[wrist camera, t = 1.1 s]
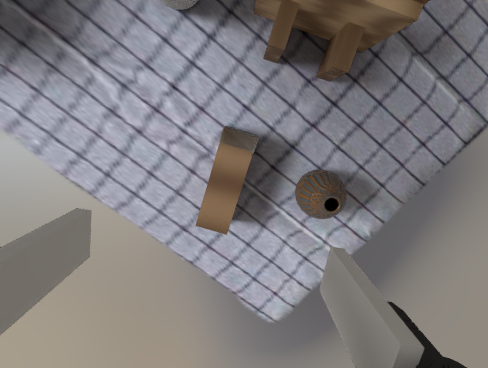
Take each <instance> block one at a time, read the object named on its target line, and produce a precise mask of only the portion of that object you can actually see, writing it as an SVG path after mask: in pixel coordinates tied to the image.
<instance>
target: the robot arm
mask: <svg viewBox="0 0 488 368" xmlns="http://www.w3.org/2000/svg"><path fill="white" fill-rule="evenodd" d="M90 235H91V210H85V209H79V208H76V209H75V210H73V211H70V212H69V213H67V214H65V215H63V216H61V217H59V218H57V219H55V220H53V221H51V222H49V223H47V224H45V225H43V226H41V227H39V228H38V229H35V230H34V231H32V232H30V233H28V234H26V235H24V236H22V237H20V238H18V239H16V240H14V241H12V242H10V243H8V244H6V245H5V246H3V247H0V335H1V334H2V333H3V332H5V331H6V330H7V329H8V328H9V327H10V326H11V325H12V324H14V323H15V322H16V321H17V320H18V319H19V318H20V317H22V316H23V315H24V314H25V313H26V312H27V311H28V310H30V309H31V308H32V307H33V306H34V305H35V304H37V303H38V302H39V301H40V300H41V299H42V298H43V297H44V296H46V295H47V294H48V293H49V292H50V291H51V290H52V289H54V288H55V287H56V286H57V285H58V284H59V283H61V282H62V281H63V280H64V279H65V278H66V277H67V276H69V275H70V274H71V273H72V272H73V271H74V270H75V269H77V268H78V267H79V266H80V265H81V264H82V263H83V262H84V261H86V260H87V259H88V258H89V257H90ZM320 292H321V294H322V297H323V299H324V301H325V303H326V305H327V307H328V310H329V312H330V314H331V316H332V318H333V321H334V323H335V325H336V327H337V329H338V331H339V334H340V335H341V338H342V340H343V342H344V344H345V347H346V348H347V351H348V353H349V355H350V357H351V359H352V362H353V364H354V366H355V368H466V367H465V366H463V365H462V364H460V363H458V362H456V361H454V360H452V359H450V358H446V357H443V356H442V355H441V354H440V353H439V352H438V351H437V349H436V348H435V347H434V346H433V345H432V344H431V342H430V341H429V340H428V339H427V338H426V337H425V336H424V334H423V333H422V332H421V331H420V330H418V327H417V326H416V325H415V324H414V323H413V322H412V321H411V319H410V318H409V317H408V316H407V315H406V313H405V312H404V311H403V310H402V309H400V308H399V307H398V306H396V305H395V304H394V303H392V302H387V301H386V300H385V299H384V297H383V296H382V295H381V294H380V292H379V291H378V290H377V289H376V288H375V286H374V285H373V284H372V283H371V282H370V280H369V279H368V278H367V276H366V275H365V274H364V273H363V271H362V270H361V269H360V268H359V267H358V266H357V264H356V263H355V262H354V260H353V259H352V258H351V257H350V255H349V254H348V253H347V252H346V251H345V249H342V248H336V247H330V251H329V255H328V259H327V263H326V267H325V271H324V274H323V278H322V282H321V286H320Z"/></svg>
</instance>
